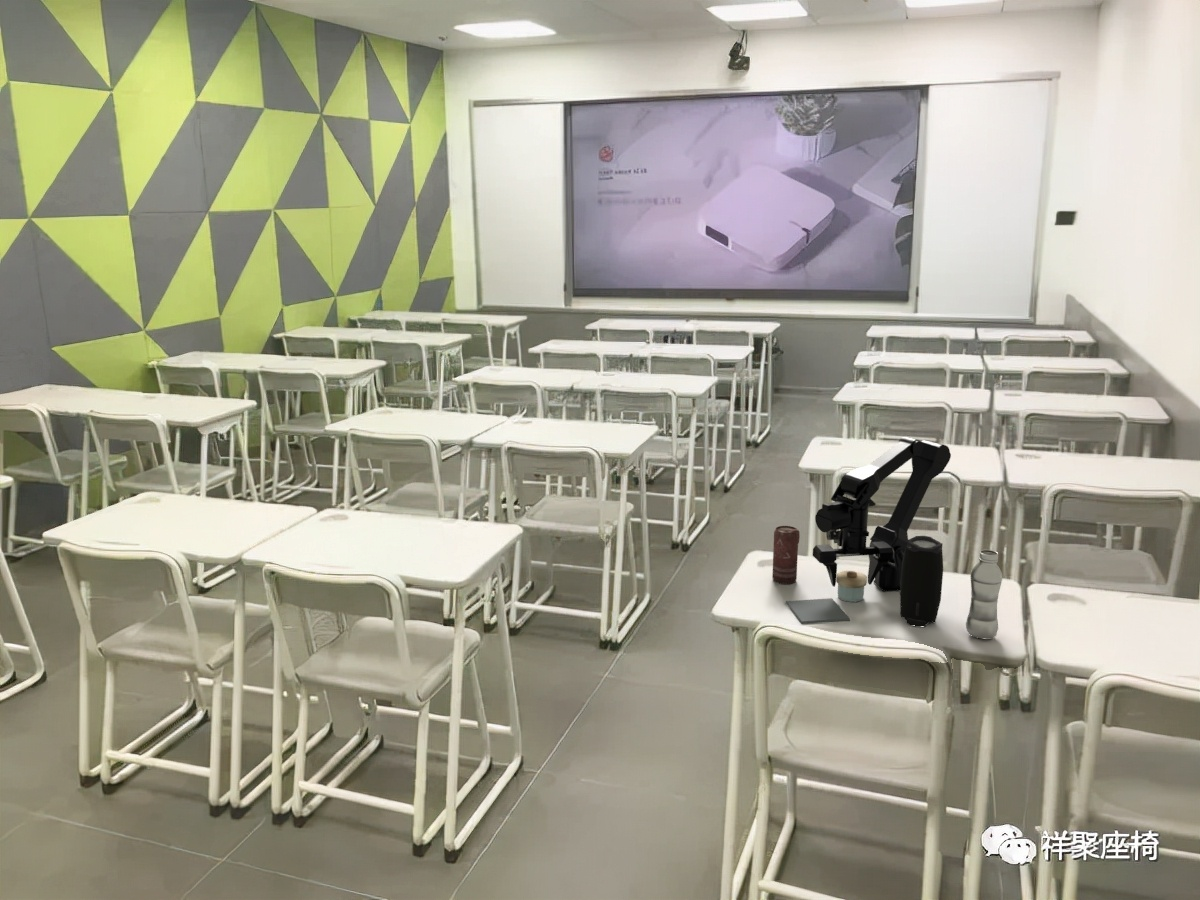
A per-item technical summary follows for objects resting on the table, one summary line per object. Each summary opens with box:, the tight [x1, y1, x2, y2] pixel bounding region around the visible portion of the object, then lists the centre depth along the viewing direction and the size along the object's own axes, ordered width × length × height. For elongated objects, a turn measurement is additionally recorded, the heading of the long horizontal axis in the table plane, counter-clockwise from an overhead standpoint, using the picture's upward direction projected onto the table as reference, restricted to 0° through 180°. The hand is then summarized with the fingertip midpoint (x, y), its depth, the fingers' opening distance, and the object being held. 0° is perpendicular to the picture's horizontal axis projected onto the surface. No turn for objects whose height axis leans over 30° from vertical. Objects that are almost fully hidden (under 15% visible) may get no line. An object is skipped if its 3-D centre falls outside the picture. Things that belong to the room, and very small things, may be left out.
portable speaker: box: [899, 535, 944, 627], centre depth 217 cm, size 9×9×20 cm
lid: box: [836, 570, 868, 588], centre depth 231 cm, size 7×7×2 cm
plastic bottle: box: [965, 549, 1004, 639], centre depth 209 cm, size 6×7×20 cm
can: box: [771, 525, 801, 585], centre depth 242 cm, size 6×6×14 cm
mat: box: [785, 597, 851, 625], centre depth 225 cm, size 12×12×1 cm
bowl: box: [837, 583, 865, 603], centre depth 232 cm, size 6×6×4 cm
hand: (851, 584), depth 232 cm, fingers open, 9 cm apart
